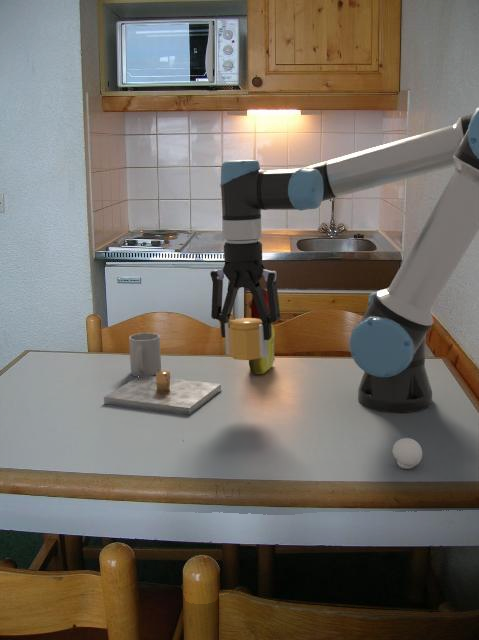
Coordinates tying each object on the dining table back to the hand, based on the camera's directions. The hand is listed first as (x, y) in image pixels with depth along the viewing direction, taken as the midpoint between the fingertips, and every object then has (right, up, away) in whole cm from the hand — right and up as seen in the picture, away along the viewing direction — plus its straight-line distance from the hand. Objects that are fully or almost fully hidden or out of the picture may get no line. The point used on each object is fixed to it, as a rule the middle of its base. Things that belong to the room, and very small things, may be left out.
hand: (247, 353), depth 150 cm
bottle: (+4, -5, +28) cm, 28 cm away
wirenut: (0, 0, 0) cm, 0 cm away
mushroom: (+26, -18, -27) cm, 42 cm away
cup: (-24, -6, +26) cm, 36 cm away
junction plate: (-18, -10, +10) cm, 23 cm away
